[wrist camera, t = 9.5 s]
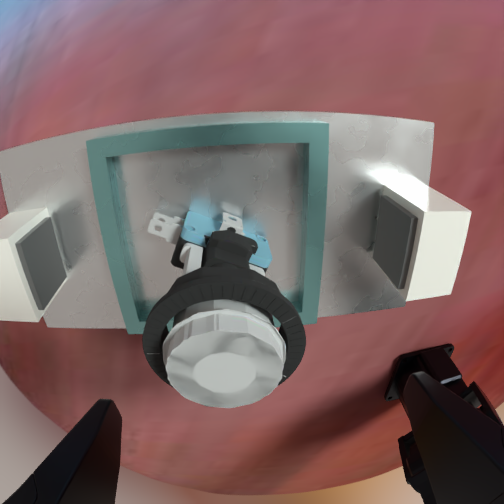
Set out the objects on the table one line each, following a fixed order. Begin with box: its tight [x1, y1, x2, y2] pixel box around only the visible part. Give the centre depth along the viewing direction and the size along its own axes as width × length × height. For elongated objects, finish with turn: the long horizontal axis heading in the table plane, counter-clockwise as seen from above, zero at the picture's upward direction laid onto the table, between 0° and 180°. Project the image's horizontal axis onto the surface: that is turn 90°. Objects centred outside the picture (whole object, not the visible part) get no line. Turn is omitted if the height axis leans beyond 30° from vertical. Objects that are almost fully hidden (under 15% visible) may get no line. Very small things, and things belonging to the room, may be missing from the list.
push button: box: [142, 211, 306, 408], centre depth 14 cm, size 7×5×10 cm
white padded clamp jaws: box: [0, 185, 471, 322], centre depth 16 cm, size 5×26×4 cm, turn 92°
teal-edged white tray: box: [0, 111, 434, 334], centre depth 18 cm, size 13×26×3 cm, turn 92°
